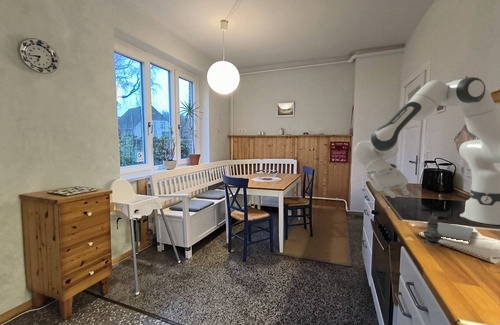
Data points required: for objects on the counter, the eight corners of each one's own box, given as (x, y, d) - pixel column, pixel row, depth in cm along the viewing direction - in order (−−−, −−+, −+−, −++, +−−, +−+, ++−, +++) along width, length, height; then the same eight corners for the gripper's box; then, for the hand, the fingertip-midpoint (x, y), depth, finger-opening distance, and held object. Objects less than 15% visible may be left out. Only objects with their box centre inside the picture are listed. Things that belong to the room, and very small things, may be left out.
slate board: (437, 225, 112) (437, 222, 112) (472, 231, 103) (473, 228, 103) (429, 236, 99) (429, 232, 99) (468, 244, 91) (468, 240, 90)
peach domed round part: (411, 222, 118) (411, 220, 117) (431, 226, 112) (431, 224, 112) (406, 226, 112) (406, 224, 112) (427, 230, 106) (427, 228, 106)
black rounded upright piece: (445, 246, 90) (446, 215, 89) (427, 245, 91) (428, 214, 90) (436, 240, 95) (437, 210, 94) (419, 239, 96) (420, 210, 95)
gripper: (369, 167, 103) (391, 194, 95) (397, 164, 113) (419, 188, 105) (360, 176, 107) (380, 203, 99) (388, 173, 117) (408, 196, 109)
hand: (401, 195), depth 102 cm, fingers open, 8 cm apart
